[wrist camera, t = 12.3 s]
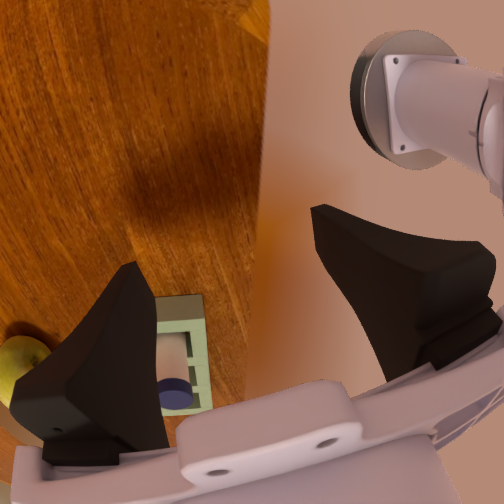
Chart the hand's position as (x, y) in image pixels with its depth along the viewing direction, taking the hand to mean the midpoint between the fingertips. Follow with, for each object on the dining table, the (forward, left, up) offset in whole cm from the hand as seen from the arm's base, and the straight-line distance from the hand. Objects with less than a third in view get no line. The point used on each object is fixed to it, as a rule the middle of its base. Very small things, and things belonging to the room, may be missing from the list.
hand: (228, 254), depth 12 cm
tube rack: (+8, +17, -10) cm, 21 cm away
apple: (+23, +11, -11) cm, 28 cm away
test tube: (+7, +12, -10) cm, 18 cm away
